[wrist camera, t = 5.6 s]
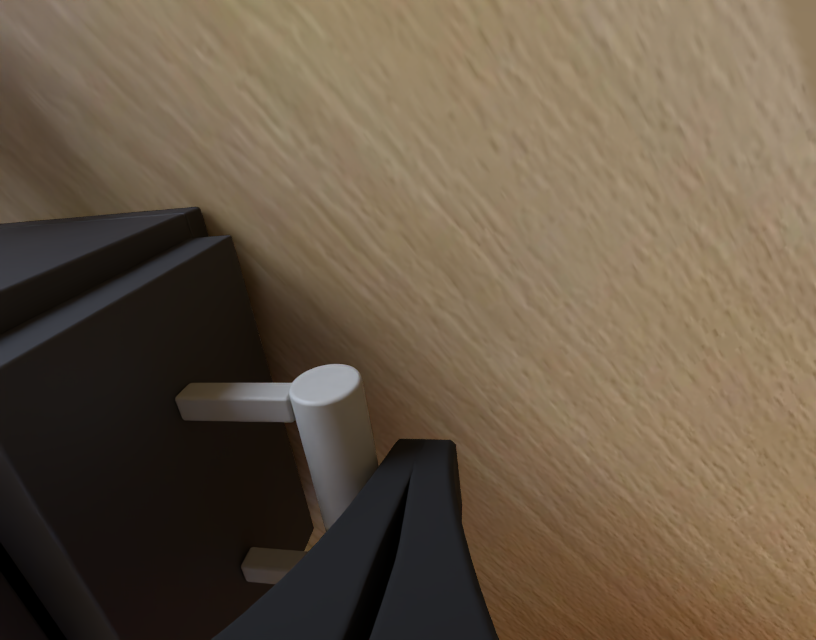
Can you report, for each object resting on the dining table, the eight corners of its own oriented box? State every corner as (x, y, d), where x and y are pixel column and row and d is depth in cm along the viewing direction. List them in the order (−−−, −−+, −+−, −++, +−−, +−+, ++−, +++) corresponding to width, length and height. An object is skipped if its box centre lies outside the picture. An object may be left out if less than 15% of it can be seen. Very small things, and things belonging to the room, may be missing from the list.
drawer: (384, 223, 11) (245, 389, 5) (428, 536, 15) (380, 819, 10) (-87, 257, 14) (-511, 386, 8) (60, 510, 18) (-148, 713, 13)
